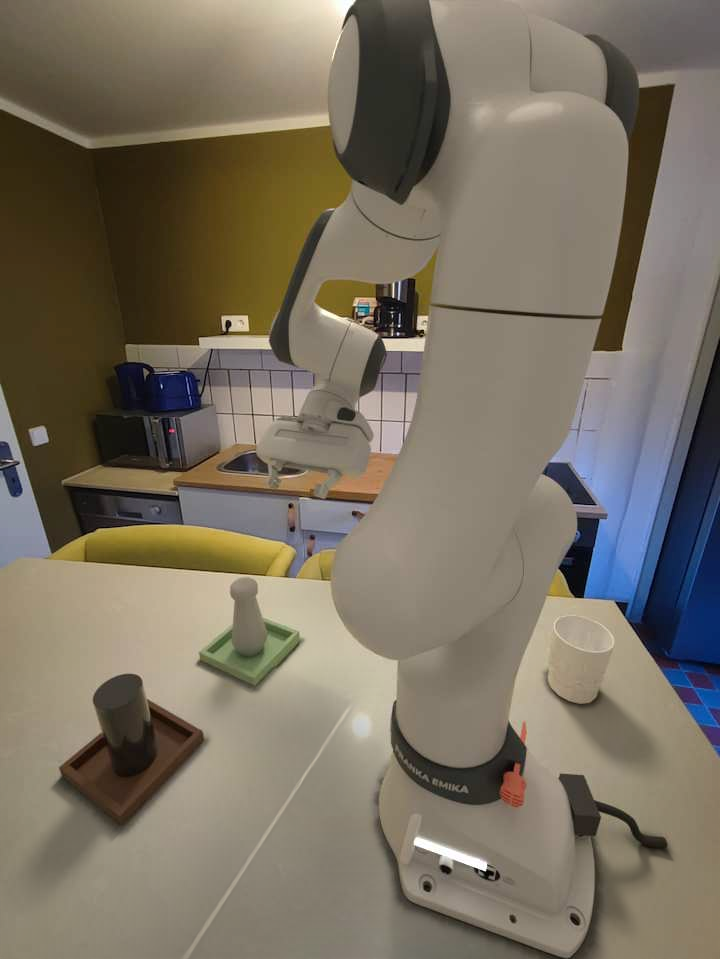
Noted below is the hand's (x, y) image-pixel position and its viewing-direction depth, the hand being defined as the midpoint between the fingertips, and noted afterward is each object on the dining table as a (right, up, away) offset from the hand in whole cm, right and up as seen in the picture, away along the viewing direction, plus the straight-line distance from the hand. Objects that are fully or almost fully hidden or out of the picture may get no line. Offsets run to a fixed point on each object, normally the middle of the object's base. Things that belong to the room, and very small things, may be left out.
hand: (294, 491), depth 69 cm
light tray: (-8, -27, +3) cm, 28 cm away
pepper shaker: (-18, -33, -15) cm, 40 cm away
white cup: (+43, -30, -4) cm, 52 cm away
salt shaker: (-8, -27, +3) cm, 28 cm away
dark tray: (-18, -34, -15) cm, 41 cm away
